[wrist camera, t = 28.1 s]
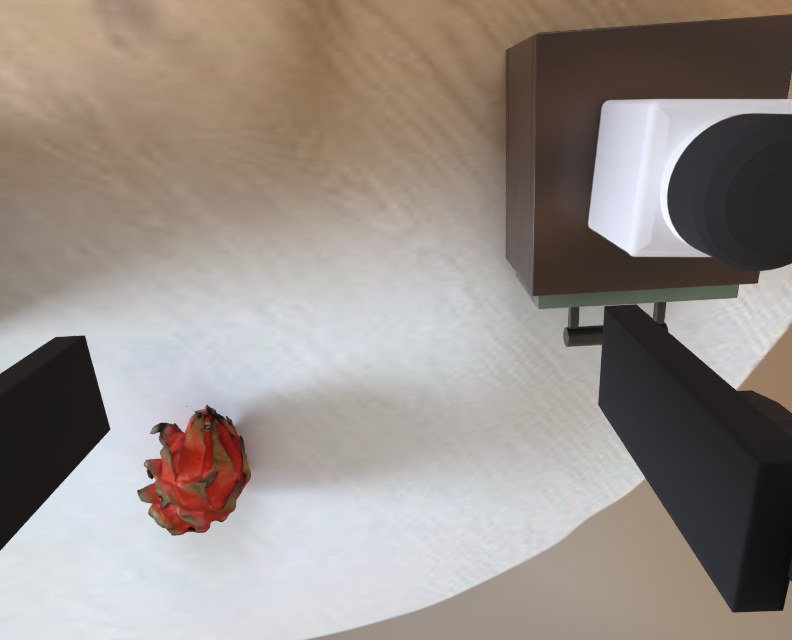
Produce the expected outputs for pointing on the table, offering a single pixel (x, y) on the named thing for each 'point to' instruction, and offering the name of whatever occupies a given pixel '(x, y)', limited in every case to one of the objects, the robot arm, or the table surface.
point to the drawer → (659, 296)
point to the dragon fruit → (196, 473)
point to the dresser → (579, 128)
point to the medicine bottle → (696, 179)
